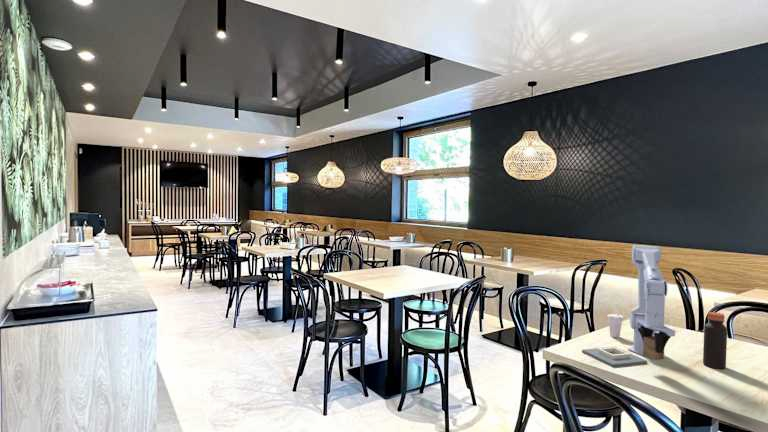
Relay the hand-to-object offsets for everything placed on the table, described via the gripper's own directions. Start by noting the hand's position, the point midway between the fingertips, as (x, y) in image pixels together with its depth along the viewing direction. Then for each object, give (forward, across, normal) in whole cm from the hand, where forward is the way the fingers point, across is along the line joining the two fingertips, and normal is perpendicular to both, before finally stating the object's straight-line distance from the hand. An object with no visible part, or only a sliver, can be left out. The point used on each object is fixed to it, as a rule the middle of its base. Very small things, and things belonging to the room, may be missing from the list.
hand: (653, 350), depth 150 cm
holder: (+8, -15, -3) cm, 17 cm away
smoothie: (+8, -37, +19) cm, 42 cm away
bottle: (+8, +1, +28) cm, 29 cm away
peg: (+3, 0, 0) cm, 3 cm away
